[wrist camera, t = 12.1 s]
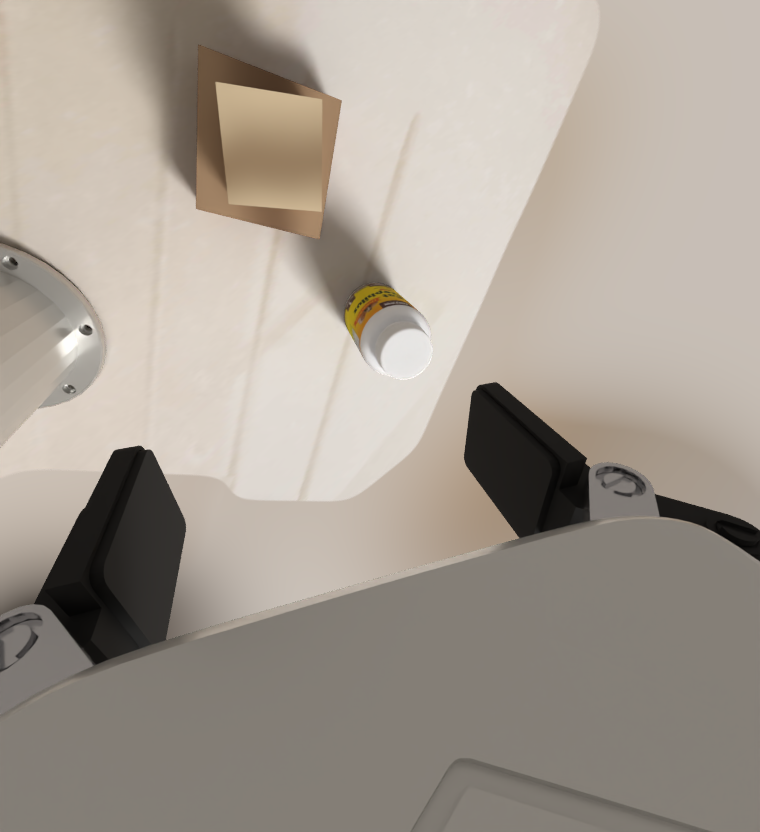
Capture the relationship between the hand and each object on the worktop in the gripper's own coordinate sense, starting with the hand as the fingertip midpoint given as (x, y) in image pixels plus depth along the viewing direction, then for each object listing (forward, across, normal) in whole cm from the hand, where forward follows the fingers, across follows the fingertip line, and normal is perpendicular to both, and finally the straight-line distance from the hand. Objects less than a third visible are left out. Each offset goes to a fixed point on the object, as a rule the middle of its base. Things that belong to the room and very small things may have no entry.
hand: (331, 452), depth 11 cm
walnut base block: (+24, 0, -8) cm, 26 cm away
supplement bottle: (+24, -8, +4) cm, 26 cm away
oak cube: (+20, -1, -8) cm, 22 cm away
